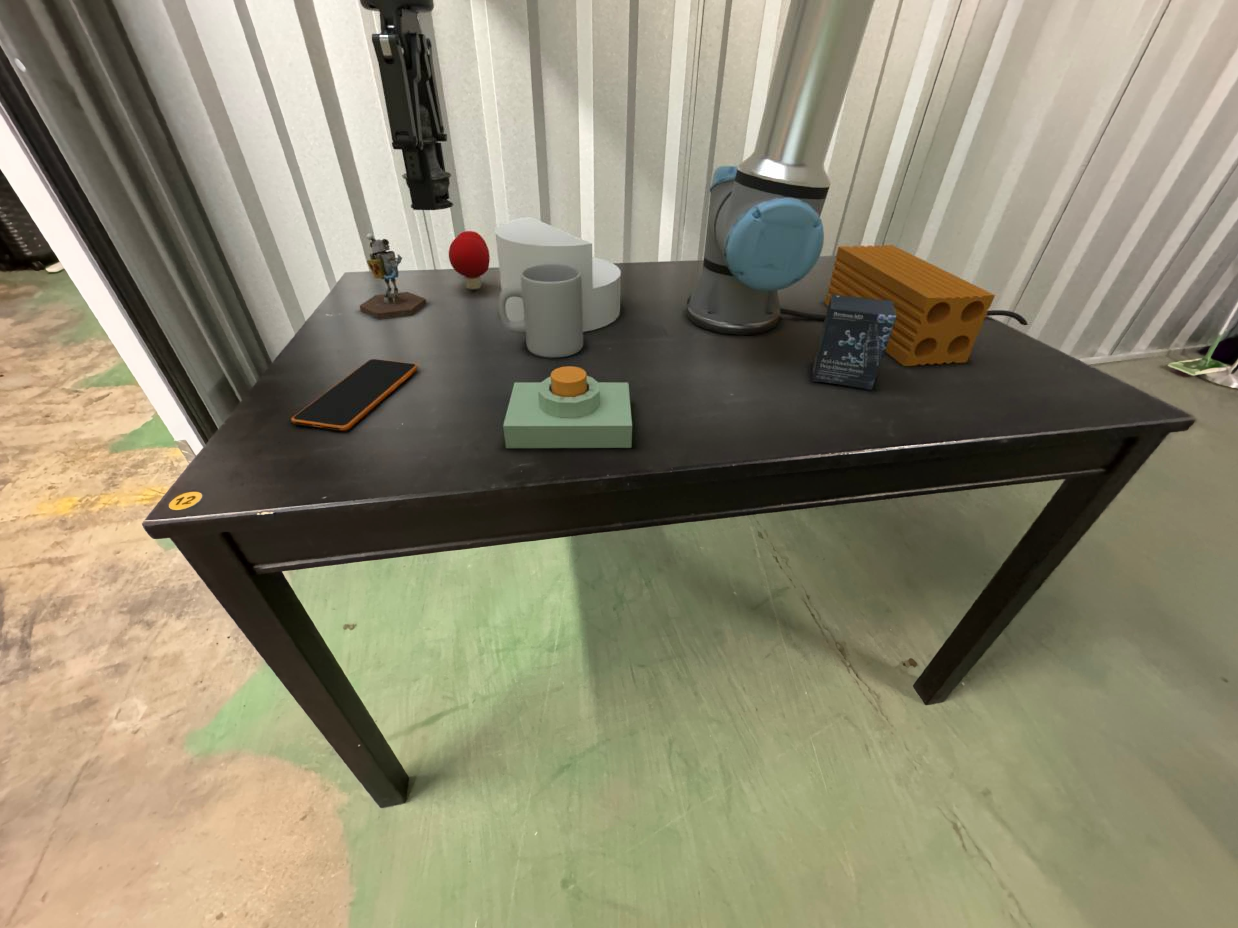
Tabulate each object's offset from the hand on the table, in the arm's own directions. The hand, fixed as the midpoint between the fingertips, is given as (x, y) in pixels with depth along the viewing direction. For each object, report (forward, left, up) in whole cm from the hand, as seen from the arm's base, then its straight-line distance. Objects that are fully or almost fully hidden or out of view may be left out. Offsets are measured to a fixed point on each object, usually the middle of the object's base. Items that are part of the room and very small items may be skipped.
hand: (432, 203), depth 71 cm
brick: (-69, -7, -20) cm, 72 cm away
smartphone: (+9, +15, -20) cm, 26 cm away
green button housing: (-18, +22, -20) cm, 35 cm away
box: (-55, +10, -20) cm, 59 cm away
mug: (-13, 0, -20) cm, 24 cm away
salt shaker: (0, 0, 0) cm, 0 cm away
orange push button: (-18, +22, -15) cm, 32 cm away
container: (-15, -15, -20) cm, 29 cm away
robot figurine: (+14, -16, -20) cm, 29 cm away
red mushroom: (+2, -25, -20) cm, 32 cm away
